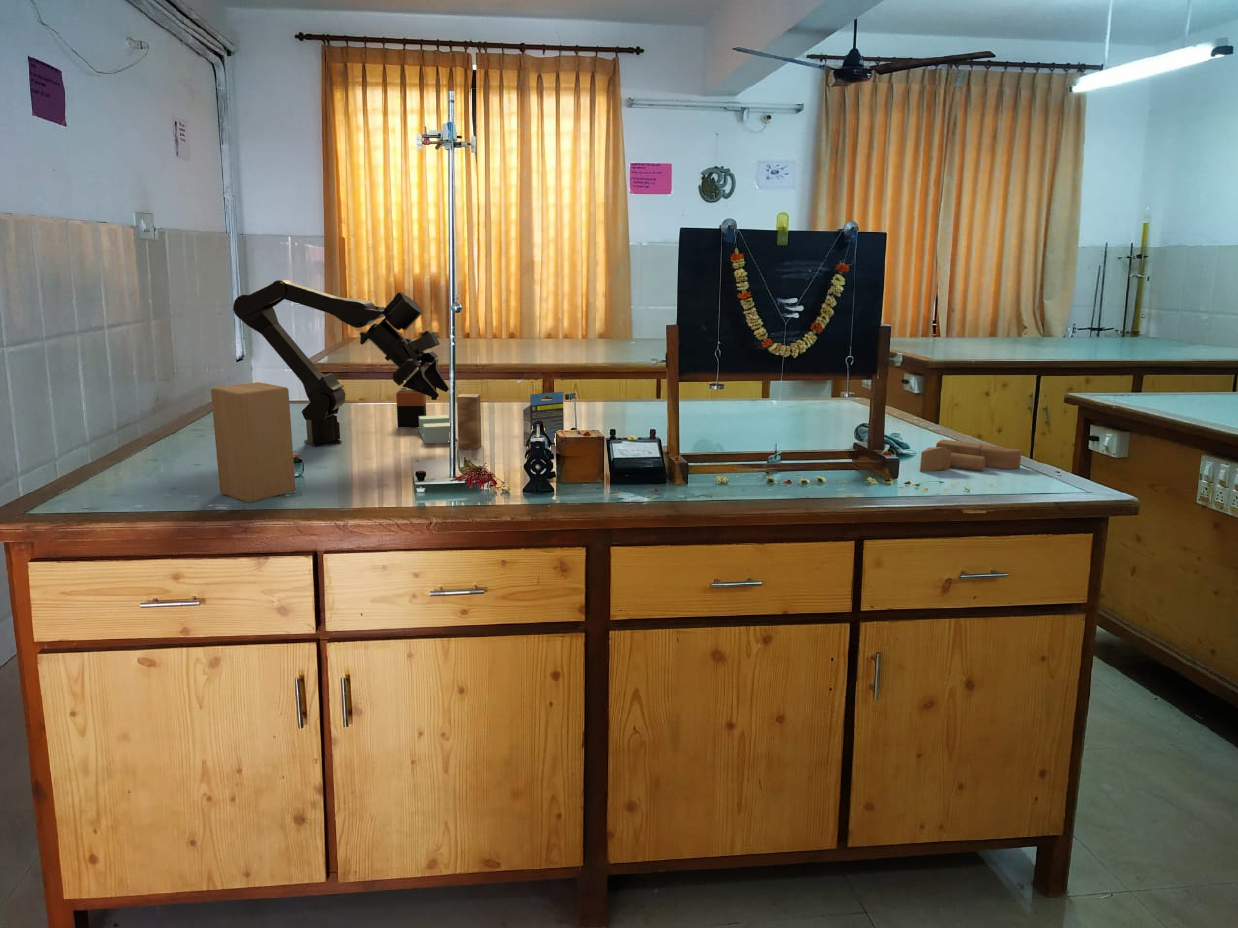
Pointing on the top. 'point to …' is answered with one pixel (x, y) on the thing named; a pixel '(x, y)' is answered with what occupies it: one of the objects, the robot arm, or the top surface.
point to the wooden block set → (968, 457)
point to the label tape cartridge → (544, 414)
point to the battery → (410, 407)
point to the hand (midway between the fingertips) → (442, 393)
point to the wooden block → (253, 440)
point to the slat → (469, 421)
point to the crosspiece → (434, 428)
